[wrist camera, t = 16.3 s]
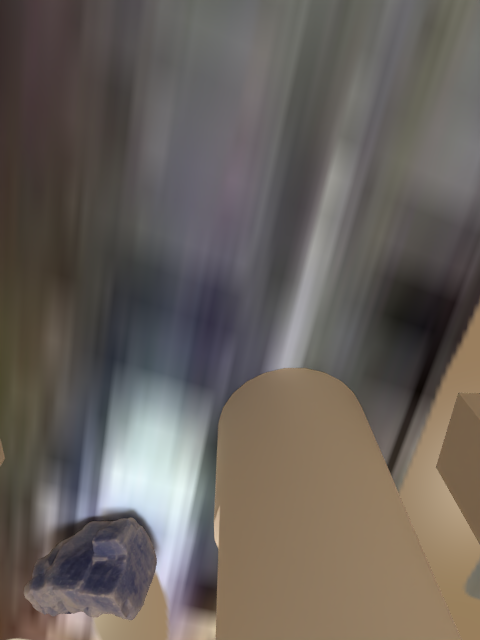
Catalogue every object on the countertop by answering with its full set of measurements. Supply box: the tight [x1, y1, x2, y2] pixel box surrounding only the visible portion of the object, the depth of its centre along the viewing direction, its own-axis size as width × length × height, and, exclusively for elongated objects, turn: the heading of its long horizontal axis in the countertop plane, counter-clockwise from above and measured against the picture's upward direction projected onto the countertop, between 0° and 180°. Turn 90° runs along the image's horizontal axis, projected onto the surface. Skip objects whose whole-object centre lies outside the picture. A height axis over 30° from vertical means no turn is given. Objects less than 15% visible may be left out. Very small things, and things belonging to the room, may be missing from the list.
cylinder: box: [214, 368, 462, 640], centre depth 40 cm, size 17×17×28 cm
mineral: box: [24, 518, 157, 620], centre depth 55 cm, size 14×10×10 cm, turn 97°
